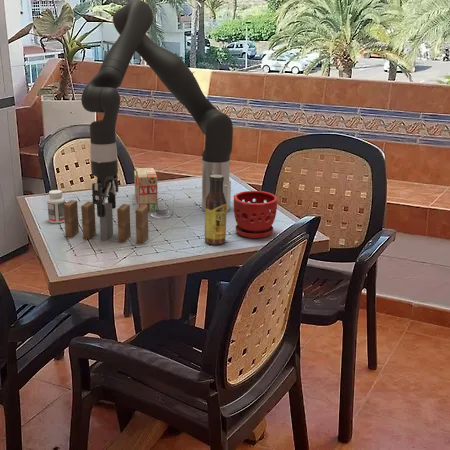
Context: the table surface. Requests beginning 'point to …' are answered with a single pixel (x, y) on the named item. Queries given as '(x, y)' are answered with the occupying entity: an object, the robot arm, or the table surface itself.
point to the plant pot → (255, 213)
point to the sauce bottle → (215, 212)
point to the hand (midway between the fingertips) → (106, 212)
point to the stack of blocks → (146, 188)
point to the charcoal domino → (107, 223)
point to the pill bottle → (56, 207)
